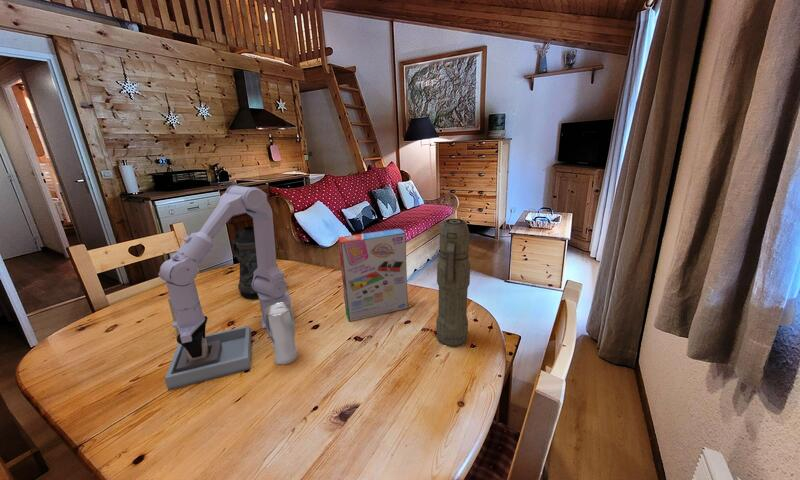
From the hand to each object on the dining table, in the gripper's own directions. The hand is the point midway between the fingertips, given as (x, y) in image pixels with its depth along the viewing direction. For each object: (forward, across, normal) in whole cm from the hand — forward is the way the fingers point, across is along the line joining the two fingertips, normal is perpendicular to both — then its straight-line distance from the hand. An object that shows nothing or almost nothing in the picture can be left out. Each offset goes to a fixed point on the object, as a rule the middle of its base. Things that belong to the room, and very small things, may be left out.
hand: (198, 350), depth 86 cm
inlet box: (+4, 0, +3) cm, 5 cm away
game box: (+4, -5, +51) cm, 51 cm away
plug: (+3, 0, 0) cm, 3 cm away
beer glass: (+4, +7, +21) cm, 23 cm away
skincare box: (+4, -20, -6) cm, 21 cm away
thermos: (+4, +18, +66) cm, 69 cm away
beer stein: (+4, -40, +14) cm, 43 cm away
